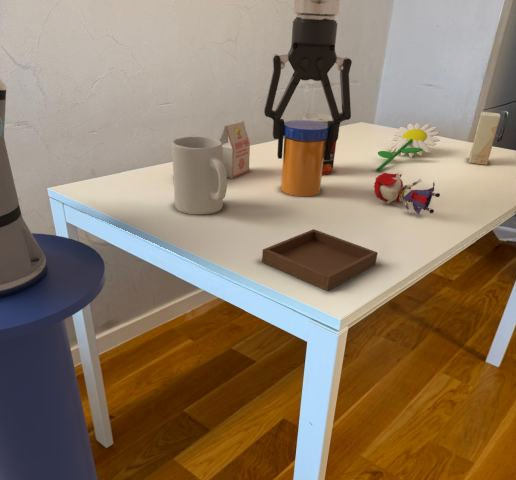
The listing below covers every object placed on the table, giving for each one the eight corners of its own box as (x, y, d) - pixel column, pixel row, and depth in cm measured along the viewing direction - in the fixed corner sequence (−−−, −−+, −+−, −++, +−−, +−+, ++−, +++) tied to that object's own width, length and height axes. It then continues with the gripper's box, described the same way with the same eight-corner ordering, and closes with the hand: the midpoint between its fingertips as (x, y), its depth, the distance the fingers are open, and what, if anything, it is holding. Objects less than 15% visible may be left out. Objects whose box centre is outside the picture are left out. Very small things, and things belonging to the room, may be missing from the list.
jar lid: (283, 139, 91) (284, 128, 90) (281, 129, 98) (281, 119, 97) (331, 141, 91) (332, 130, 90) (324, 131, 98) (326, 121, 97)
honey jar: (272, 189, 100) (276, 127, 94) (297, 182, 105) (302, 122, 98) (303, 199, 96) (309, 134, 89) (327, 191, 101) (335, 129, 94)
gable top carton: (217, 174, 107) (217, 124, 101) (234, 168, 112) (235, 119, 106) (232, 178, 105) (232, 127, 100) (249, 171, 110) (250, 122, 104)
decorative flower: (403, 186, 113) (444, 144, 131) (406, 164, 110) (447, 124, 128) (351, 178, 119) (397, 139, 137) (352, 158, 116) (399, 120, 134)
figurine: (418, 220, 87) (355, 197, 96) (445, 222, 92) (383, 199, 102) (431, 183, 84) (365, 162, 94) (458, 186, 89) (393, 166, 99)
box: (486, 165, 123) (501, 116, 117) (468, 163, 124) (481, 114, 118) (486, 160, 127) (500, 112, 121) (468, 158, 128) (481, 111, 122)
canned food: (309, 176, 108) (314, 121, 102) (292, 166, 114) (296, 114, 108) (339, 173, 111) (346, 120, 105) (321, 164, 117) (327, 113, 111)
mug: (165, 204, 90) (161, 139, 84) (204, 195, 95) (203, 134, 89) (204, 224, 83) (202, 155, 77) (244, 214, 88) (246, 149, 81)
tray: (261, 262, 72) (262, 249, 71) (312, 241, 79) (313, 228, 78) (327, 291, 66) (329, 277, 64) (375, 265, 73) (378, 252, 72)
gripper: (252, 15, 80) (248, 160, 93) (383, 21, 81) (361, 164, 94) (251, 14, 87) (248, 150, 99) (373, 19, 88) (354, 154, 100)
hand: (303, 157), depth 97 cm, fingers closed on jar lid, 8 cm apart
